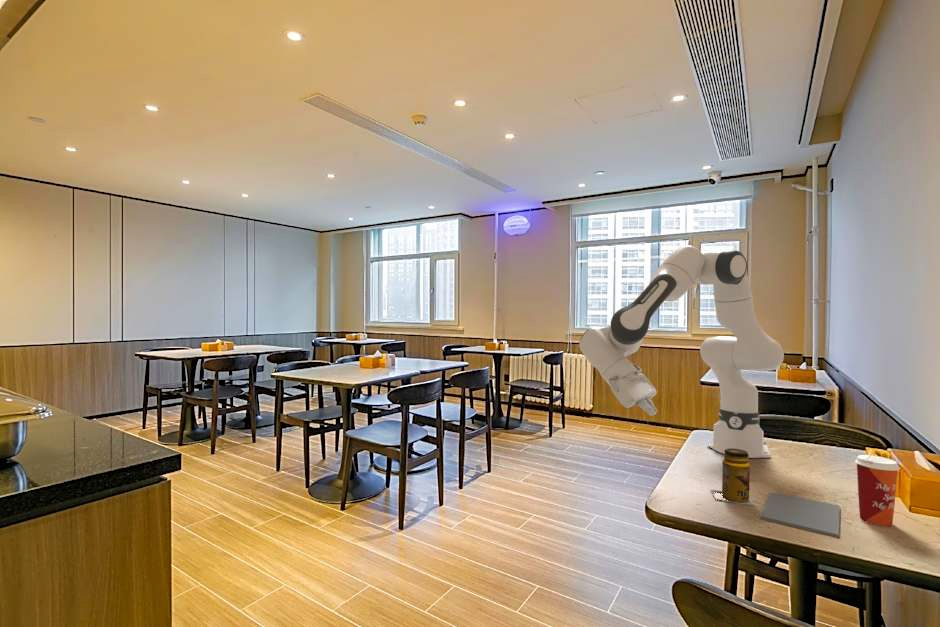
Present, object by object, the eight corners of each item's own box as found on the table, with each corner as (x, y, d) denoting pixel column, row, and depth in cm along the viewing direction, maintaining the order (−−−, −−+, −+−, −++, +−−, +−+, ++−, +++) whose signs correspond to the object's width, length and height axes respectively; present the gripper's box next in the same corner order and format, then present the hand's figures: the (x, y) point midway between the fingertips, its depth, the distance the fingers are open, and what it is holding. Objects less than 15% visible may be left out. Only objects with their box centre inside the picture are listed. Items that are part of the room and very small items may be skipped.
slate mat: (771, 493, 124) (771, 491, 124) (839, 508, 115) (839, 505, 115) (760, 518, 108) (760, 516, 108) (838, 537, 99) (838, 534, 99)
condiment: (754, 505, 116) (755, 456, 116) (715, 500, 118) (716, 452, 118) (746, 495, 123) (747, 448, 123) (710, 490, 125) (711, 444, 125)
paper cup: (886, 531, 103) (887, 466, 103) (846, 517, 110) (847, 456, 110) (906, 525, 106) (907, 462, 106) (866, 512, 113) (867, 452, 113)
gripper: (614, 371, 129) (650, 412, 123) (640, 365, 145) (673, 402, 139) (598, 385, 132) (633, 427, 126) (625, 378, 148) (657, 415, 142)
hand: (654, 413), depth 132 cm, fingers closed
